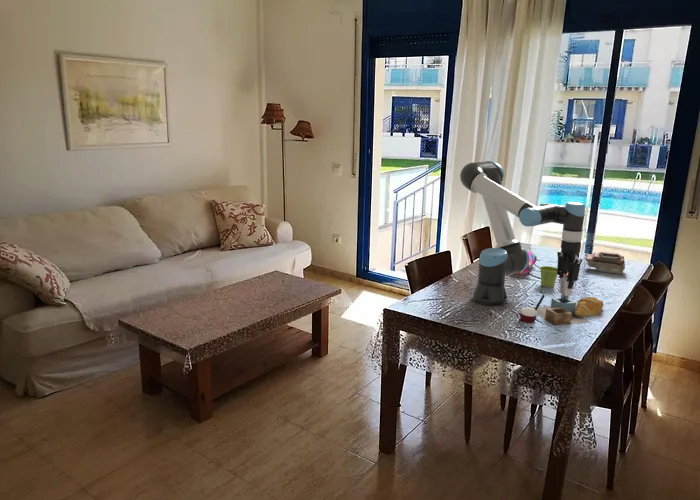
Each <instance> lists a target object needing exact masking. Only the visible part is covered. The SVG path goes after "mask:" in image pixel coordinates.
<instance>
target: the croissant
mask: <svg viewBox="0 0 700 500" xmlns="http://www.w3.org/2000/svg"><path fill="white" fill-rule="evenodd" d="M603 307H604V302H603V300H600V299H598V298H597V297H593V296H585V297H581V298H580V299H578V301H577V302H576V309H575V313H574V314H575V315H576V316H581V317H593V316H598V315H600V313H601V311H603Z"/></svg>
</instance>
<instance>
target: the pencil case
mask: <svg viewBox="0 0 700 500" xmlns="http://www.w3.org/2000/svg"><path fill="white" fill-rule="evenodd" d="M527 251H528V250H527ZM528 253H529V257H530V260H529V264H528V266H527V268H526V269H525V270H523V271H521V272H519V273H514V274H516V275H517V276H526V275H527V274H529V272H532V267H533V266H534V265H535V264H536V262H537V260H538V258H537V255H535V254H534V253H533V252H532V251H528Z"/></svg>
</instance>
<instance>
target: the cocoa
mask: <svg viewBox="0 0 700 500" xmlns="http://www.w3.org/2000/svg"><path fill="white" fill-rule="evenodd" d="M545 297H546V295H545V294H542V295H541V297H540V299H539V300H538V302H537V304H536V306H535V309H533V308H532V307H530V306H526V307H521V309H520V312H518V313H516V318H517V319H518V320H519V321H521V322H523V323H526V324H532V323H535V321H536V319H537V316H538V315H536V314H537V311H536V310H537V309H538V307H540V305H541V304H542V302H543V300H544V298H545ZM518 316H520V317H518Z"/></svg>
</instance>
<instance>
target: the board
mask: <svg viewBox="0 0 700 500" xmlns="http://www.w3.org/2000/svg"><path fill="white" fill-rule="evenodd" d="M535 307H536V306H535ZM535 307H534V306H533V307H531V308H533V309H535ZM546 308H551V305H546V306H543V305H542V306H539V307H538V309H537V310H536V311H537V314H536V315H537V316H538V317H540V318H542V319H543V320H545V321H546V322H547V323H549V324H550V325H553V326H554V327H556V326H558V327H559V326H565V325H578V324H587V323H591V321H589V320H588V319H586V318H584V316H576V315H575V314H572V315H571V323H561V324H555V323H553V322H551V321H550V320H548V319H547V318H545V314H546Z"/></svg>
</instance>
